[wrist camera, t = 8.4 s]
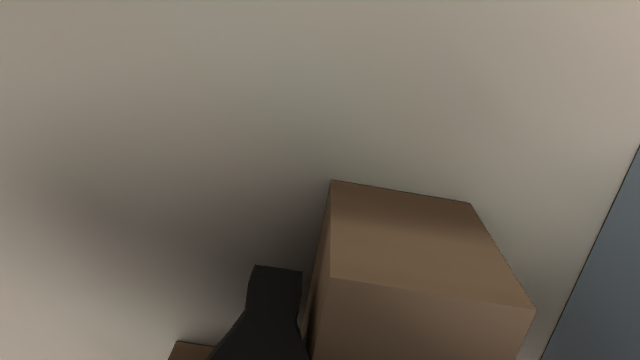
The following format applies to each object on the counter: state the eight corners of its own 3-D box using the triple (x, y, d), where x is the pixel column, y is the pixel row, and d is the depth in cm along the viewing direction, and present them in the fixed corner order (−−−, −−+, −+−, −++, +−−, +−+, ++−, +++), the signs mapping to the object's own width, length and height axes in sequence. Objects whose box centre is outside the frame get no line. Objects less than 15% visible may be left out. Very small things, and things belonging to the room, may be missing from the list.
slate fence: (-72, 434, 13) (-159, 531, 11) (-174, 2, 9) (-361, 10, 6) (521, 513, 14) (559, 619, 11) (713, 155, 9) (838, 211, 7)
